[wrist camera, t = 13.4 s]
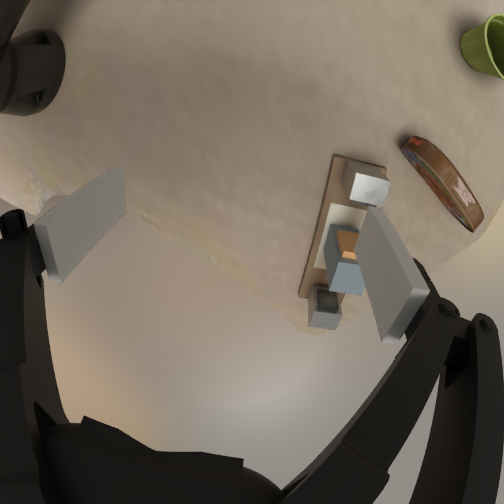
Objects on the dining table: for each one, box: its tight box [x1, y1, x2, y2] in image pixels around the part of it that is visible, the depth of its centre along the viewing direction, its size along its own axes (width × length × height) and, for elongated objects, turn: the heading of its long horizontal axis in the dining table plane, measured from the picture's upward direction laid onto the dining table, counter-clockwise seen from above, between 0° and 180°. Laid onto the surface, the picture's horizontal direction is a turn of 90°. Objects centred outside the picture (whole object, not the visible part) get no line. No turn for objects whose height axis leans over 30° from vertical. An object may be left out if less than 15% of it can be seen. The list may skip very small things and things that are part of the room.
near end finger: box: [341, 159, 391, 207], centre depth 31 cm, size 4×4×6 cm
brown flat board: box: [298, 154, 387, 304], centre depth 39 cm, size 7×22×1 cm, turn 173°
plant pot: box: [460, 13, 504, 80], centre depth 18 cm, size 9×9×9 cm
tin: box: [401, 136, 484, 233], centre depth 29 cm, size 15×3×8 cm, turn 53°
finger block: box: [323, 224, 365, 296], centre depth 35 cm, size 4×5×9 cm
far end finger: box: [308, 284, 342, 330], centre depth 41 cm, size 4×4×6 cm
